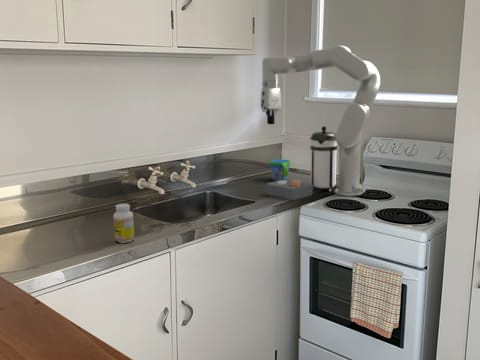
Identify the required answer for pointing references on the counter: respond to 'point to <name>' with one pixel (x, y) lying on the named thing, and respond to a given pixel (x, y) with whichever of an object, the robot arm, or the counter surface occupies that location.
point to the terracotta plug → (295, 183)
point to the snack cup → (279, 169)
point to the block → (289, 190)
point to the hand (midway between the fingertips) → (270, 123)
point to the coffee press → (323, 159)
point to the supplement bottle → (123, 222)
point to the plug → (282, 182)
